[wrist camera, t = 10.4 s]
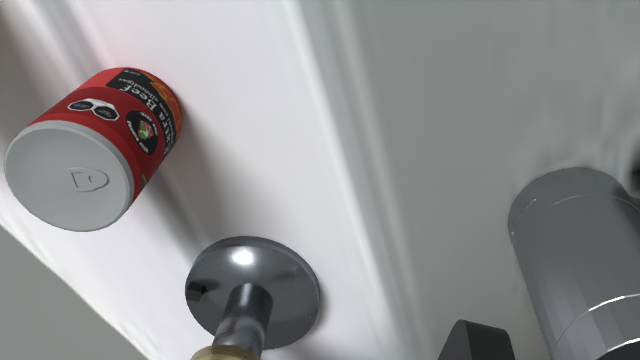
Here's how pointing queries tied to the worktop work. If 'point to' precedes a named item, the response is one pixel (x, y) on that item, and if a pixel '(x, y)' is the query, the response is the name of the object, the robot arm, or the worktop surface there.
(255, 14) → the worktop surface
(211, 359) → the door handle
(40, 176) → the canned food
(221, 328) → the round metal flange
